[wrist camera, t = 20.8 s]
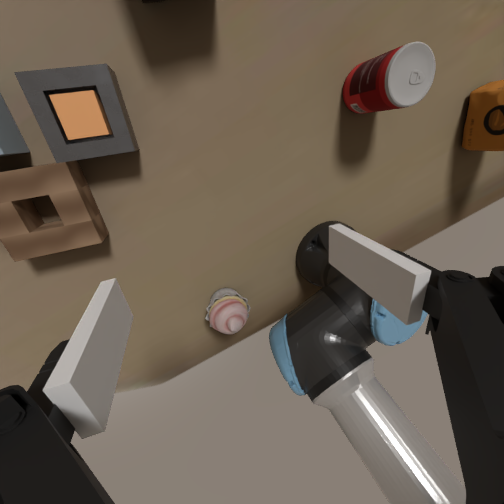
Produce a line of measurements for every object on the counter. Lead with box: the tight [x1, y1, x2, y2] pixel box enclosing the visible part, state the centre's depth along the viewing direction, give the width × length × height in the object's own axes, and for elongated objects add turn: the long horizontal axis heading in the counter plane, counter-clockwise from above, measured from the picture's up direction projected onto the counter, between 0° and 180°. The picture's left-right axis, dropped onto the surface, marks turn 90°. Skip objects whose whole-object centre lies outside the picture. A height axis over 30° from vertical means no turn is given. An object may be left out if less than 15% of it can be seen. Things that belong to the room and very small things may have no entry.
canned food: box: [343, 42, 435, 114], centre depth 39 cm, size 8×8×11 cm
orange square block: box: [49, 90, 113, 140], centre depth 33 cm, size 5×5×4 cm
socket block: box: [0, 160, 109, 262], centre depth 36 cm, size 12×12×4 cm
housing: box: [14, 64, 139, 163], centre depth 33 cm, size 10×10×4 cm
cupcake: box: [205, 288, 250, 334], centre depth 50 cm, size 9×9×10 cm
